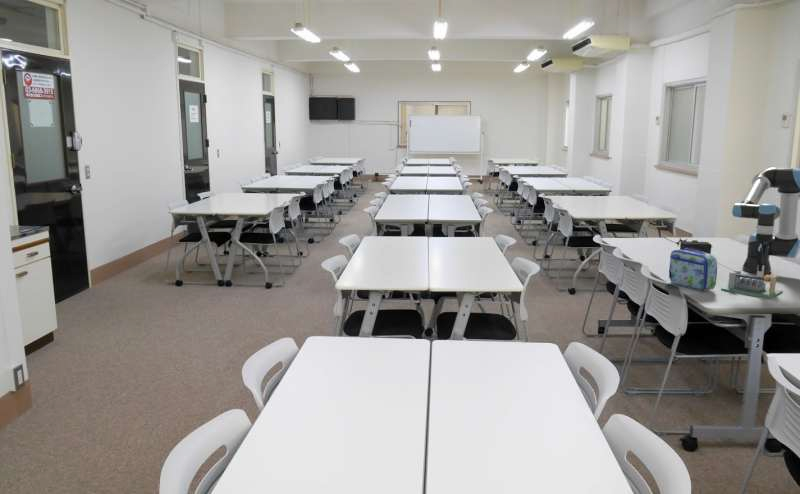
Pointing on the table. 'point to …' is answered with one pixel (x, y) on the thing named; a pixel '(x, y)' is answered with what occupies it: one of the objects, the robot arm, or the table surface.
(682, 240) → the molecular model
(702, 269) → the lunch box
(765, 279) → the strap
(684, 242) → the router
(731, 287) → the board
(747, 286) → the heatsink
